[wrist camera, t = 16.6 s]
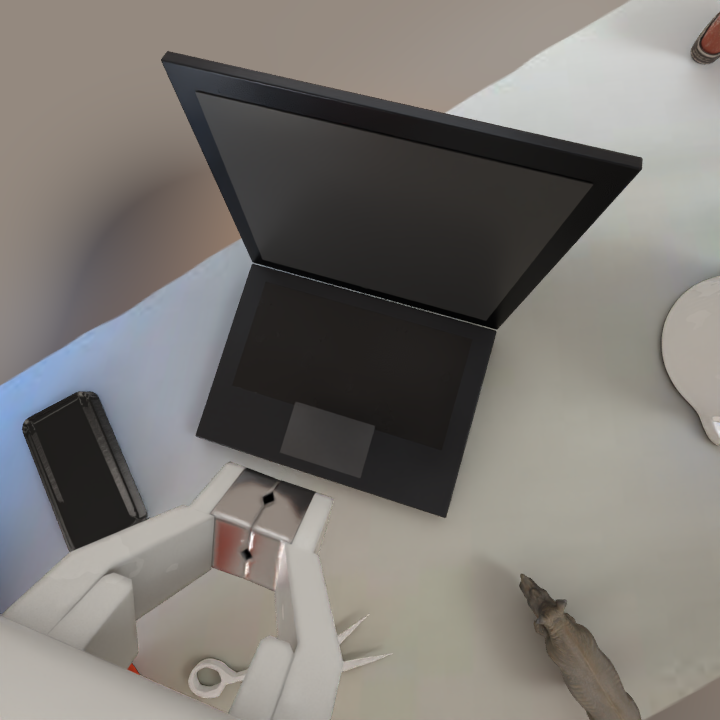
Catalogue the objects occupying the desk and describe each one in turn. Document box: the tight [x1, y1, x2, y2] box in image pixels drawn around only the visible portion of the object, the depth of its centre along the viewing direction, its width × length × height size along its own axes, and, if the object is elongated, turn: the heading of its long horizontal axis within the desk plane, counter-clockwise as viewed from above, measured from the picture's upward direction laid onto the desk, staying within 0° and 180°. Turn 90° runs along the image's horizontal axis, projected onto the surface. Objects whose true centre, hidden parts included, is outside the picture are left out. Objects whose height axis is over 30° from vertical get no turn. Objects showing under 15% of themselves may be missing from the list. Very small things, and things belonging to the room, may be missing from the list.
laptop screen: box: [161, 51, 642, 329], centre depth 26 cm, size 18×25×1 cm
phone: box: [22, 392, 147, 552], centre depth 36 cm, size 8×1×15 cm
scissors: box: [188, 614, 393, 698], centre depth 33 cm, size 11×1×20 cm
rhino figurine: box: [520, 574, 641, 720], centre depth 29 cm, size 4×14×6 cm, turn 32°
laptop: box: [196, 264, 496, 518], centre depth 35 cm, size 18×25×2 cm
